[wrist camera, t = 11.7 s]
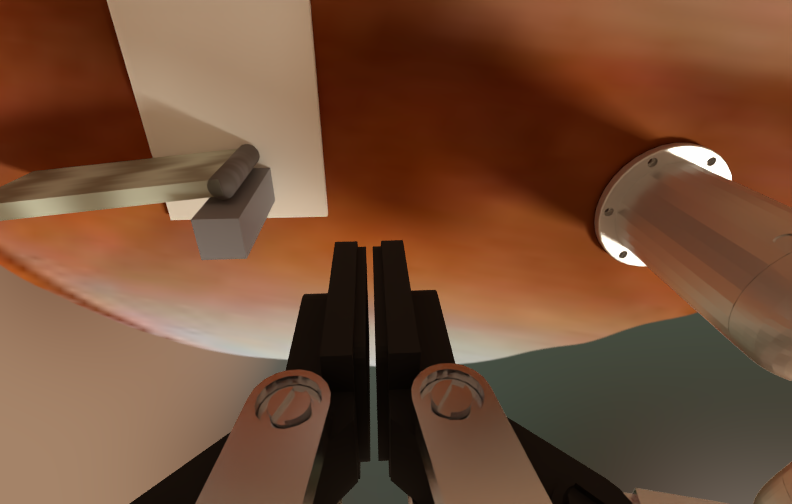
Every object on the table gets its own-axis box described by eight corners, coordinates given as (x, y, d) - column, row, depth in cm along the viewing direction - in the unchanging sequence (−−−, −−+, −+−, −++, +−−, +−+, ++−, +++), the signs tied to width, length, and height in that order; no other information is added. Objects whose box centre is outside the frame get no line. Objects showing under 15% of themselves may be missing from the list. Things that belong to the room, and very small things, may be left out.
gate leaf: (256, 142, 34) (230, 173, 27) (262, 164, 35) (238, 198, 28) (31, 167, 34) (-48, 204, 27) (43, 188, 35) (-31, 228, 28)
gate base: (328, 212, 39) (315, 277, 29) (174, 216, 38) (110, 283, 29) (295, -168, 26) (255, -274, 16) (62, -175, 25) (-123, -290, 16)
